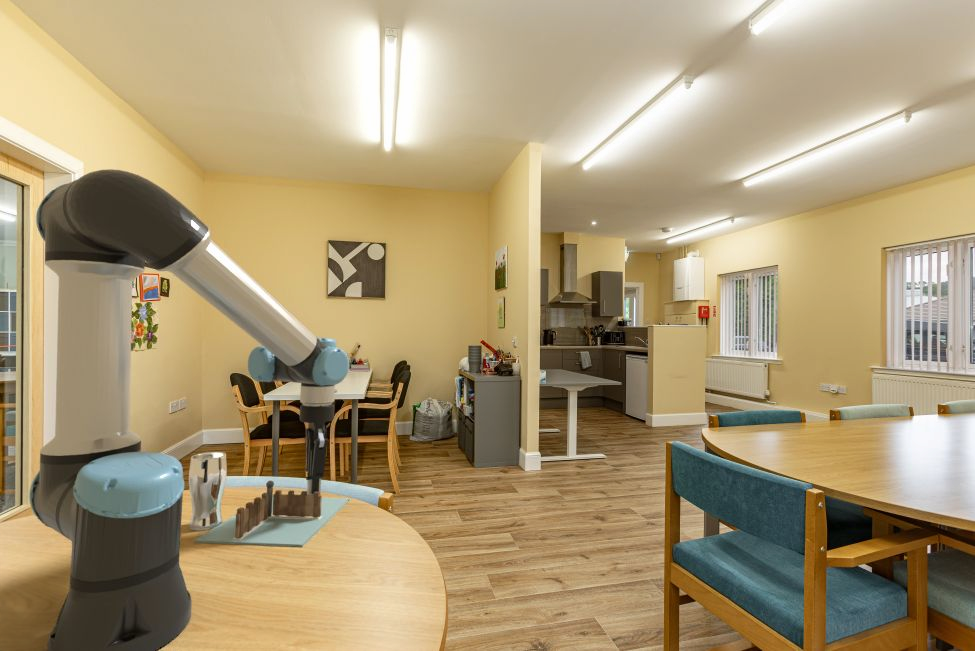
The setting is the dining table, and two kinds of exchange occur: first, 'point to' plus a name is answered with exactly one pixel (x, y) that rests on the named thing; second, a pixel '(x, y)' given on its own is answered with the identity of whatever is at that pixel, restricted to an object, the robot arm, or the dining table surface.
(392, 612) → the dining table surface
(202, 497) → the beer glass
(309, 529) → the board
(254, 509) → the fence fixed
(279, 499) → the fence panel
